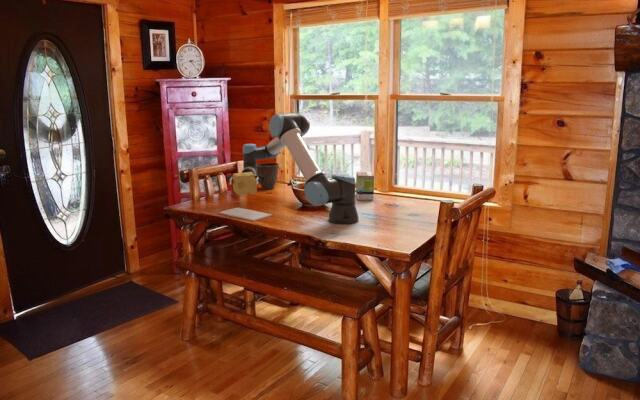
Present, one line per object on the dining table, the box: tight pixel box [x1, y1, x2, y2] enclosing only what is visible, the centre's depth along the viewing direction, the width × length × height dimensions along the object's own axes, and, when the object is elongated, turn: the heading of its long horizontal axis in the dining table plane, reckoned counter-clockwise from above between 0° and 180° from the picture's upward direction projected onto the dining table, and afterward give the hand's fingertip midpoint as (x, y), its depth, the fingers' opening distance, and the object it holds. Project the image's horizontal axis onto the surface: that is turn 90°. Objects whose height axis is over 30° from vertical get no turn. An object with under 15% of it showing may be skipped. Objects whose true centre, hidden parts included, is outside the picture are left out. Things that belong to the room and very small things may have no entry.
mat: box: [218, 207, 272, 222], centre depth 274 cm, size 26×13×1 cm, turn 52°
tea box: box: [355, 171, 375, 201], centre depth 310 cm, size 15×10×15 cm
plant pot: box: [256, 162, 279, 191], centre depth 337 cm, size 15×15×16 cm
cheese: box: [232, 172, 258, 196], centre depth 269 cm, size 10×11×10 cm
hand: (243, 182), depth 267 cm, fingers closed on cheese, 13 cm apart
